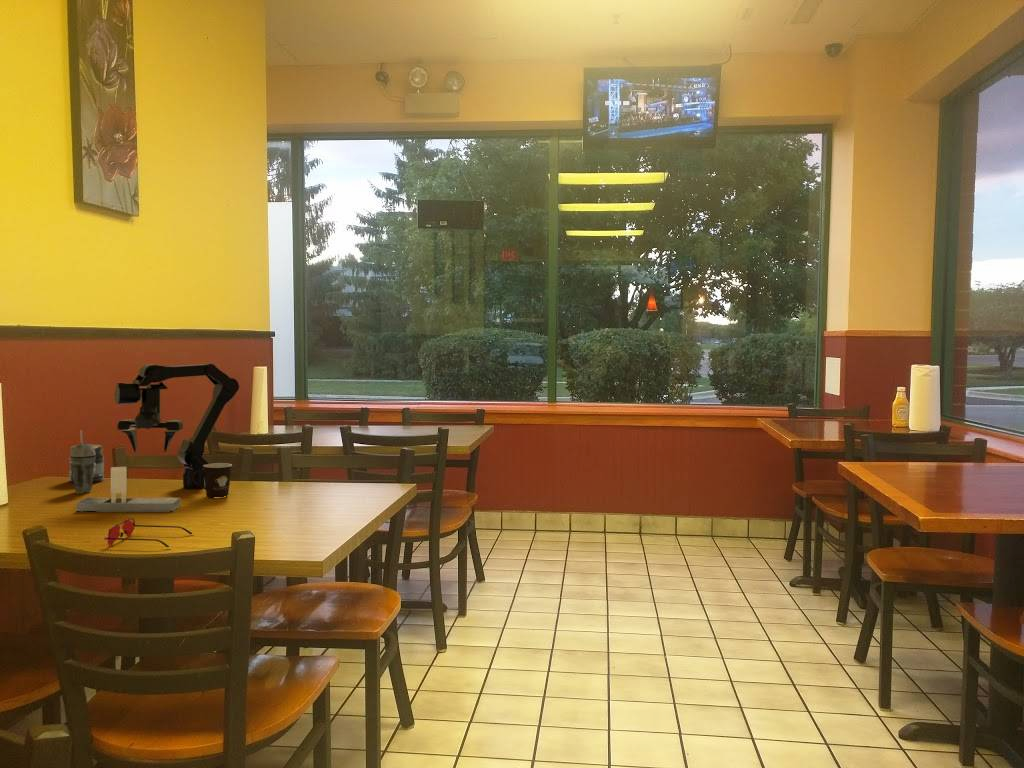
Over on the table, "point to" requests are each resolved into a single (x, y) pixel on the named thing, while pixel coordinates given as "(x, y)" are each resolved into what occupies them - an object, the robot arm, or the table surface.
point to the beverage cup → (83, 466)
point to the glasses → (128, 530)
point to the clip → (118, 483)
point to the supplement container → (98, 465)
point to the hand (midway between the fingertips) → (150, 451)
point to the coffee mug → (216, 479)
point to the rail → (129, 505)
